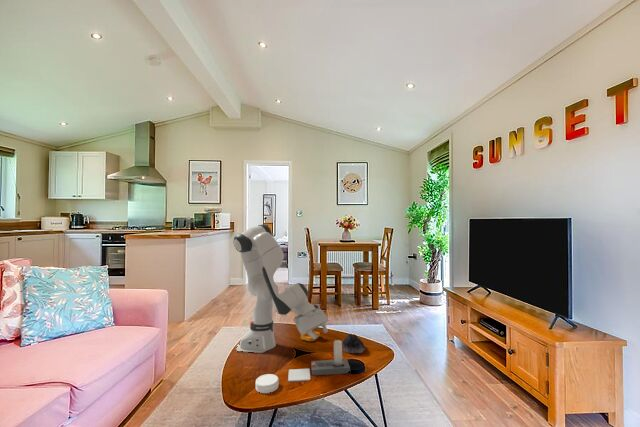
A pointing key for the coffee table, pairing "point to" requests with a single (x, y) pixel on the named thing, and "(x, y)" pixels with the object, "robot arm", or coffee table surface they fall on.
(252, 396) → the coffee table surface
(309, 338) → the bracket
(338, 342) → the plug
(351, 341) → the crystal cluster
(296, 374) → the mat
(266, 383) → the coaster
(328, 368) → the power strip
